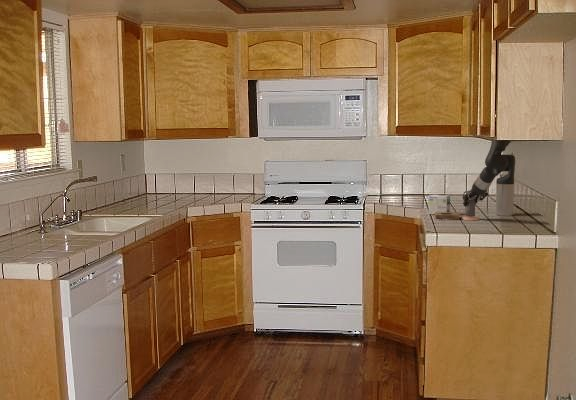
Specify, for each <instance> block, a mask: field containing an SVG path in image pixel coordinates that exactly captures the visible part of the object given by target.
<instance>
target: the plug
mask: <svg viewBox="0 0 576 400" xmlns="http://www.w3.org/2000/svg"><path fill="white" fill-rule="evenodd" d="M469 191H470V190H466V192H469ZM468 199H469V198H468ZM465 207H466V209H465V210H466V211H465V213H466V216H465V217H476V205H475V198H473V199H472V200H470V201H469V203H468V204H467V206H465Z"/></svg>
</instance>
